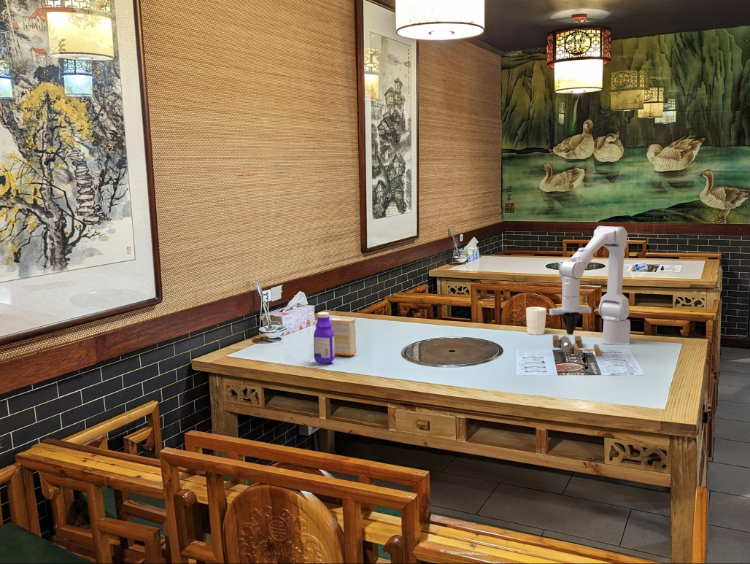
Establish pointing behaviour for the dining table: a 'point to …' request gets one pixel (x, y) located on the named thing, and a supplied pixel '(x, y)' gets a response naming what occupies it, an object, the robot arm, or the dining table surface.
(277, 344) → the dining table surface
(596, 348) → the oak cradle
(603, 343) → the robot arm
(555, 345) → the bearing block
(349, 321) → the supplement box
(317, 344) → the bottle
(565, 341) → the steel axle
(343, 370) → the dining table surface
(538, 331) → the white cup
